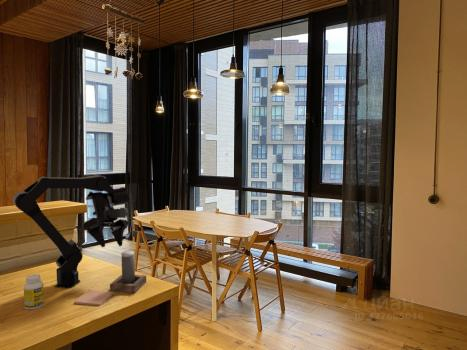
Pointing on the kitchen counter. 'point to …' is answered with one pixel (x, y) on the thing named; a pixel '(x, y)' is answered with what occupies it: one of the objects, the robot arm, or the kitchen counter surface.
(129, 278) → the grey cylinder
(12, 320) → the kitchen counter surface
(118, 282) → the walnut collar
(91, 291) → the terracotta tile
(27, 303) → the supplement bottle
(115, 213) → the robot arm
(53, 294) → the kitchen counter surface
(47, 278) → the kitchen counter surface
